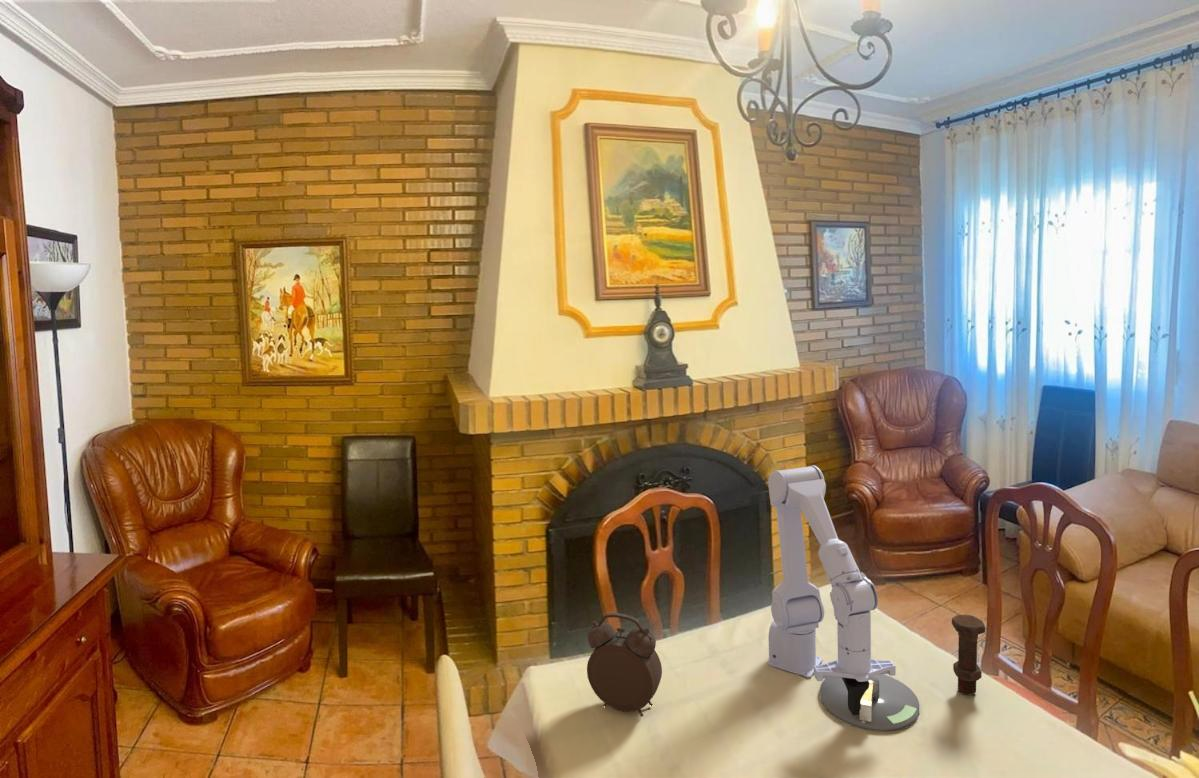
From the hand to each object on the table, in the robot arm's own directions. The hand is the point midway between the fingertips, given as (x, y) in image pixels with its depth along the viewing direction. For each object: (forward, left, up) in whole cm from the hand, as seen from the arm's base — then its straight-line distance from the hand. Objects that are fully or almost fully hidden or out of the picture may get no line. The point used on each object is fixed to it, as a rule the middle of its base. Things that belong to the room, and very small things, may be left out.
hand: (854, 711), depth 122 cm
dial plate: (0, +8, -2) cm, 8 cm away
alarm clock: (-39, -19, -3) cm, 43 cm away
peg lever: (+1, +5, -1) cm, 5 cm away
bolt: (+15, +21, -3) cm, 26 cm away
